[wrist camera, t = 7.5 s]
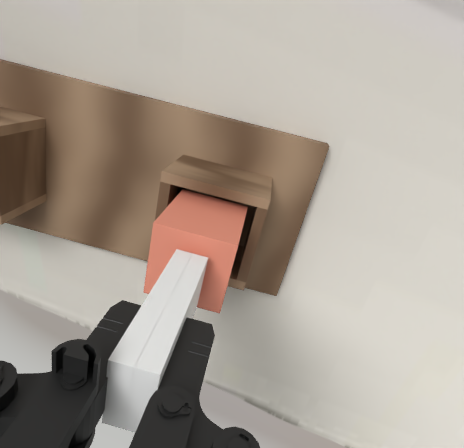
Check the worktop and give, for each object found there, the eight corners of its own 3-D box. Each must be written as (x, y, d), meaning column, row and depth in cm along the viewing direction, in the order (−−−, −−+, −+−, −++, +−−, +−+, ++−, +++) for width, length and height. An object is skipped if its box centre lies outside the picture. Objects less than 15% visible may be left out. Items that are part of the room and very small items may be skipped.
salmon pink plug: (172, 246, 21) (143, 292, 17) (182, 189, 20) (153, 222, 15) (232, 263, 21) (219, 313, 17) (247, 206, 19) (238, 245, 15)
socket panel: (-50, 200, 28) (-122, 227, 23) (-73, 40, 22) (-174, 29, 18) (276, 288, 27) (275, 336, 22) (327, 143, 22) (341, 162, 17)
